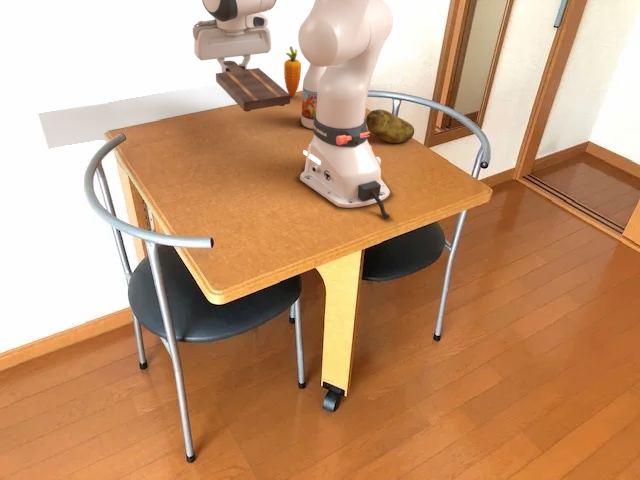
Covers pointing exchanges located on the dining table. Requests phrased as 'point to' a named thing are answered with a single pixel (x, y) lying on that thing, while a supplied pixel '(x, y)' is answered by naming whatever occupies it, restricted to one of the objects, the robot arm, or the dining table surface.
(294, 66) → the carrot
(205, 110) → the dining table surface
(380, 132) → the potato
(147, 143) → the dining table surface
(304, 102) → the milk bottle
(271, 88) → the cutting board
